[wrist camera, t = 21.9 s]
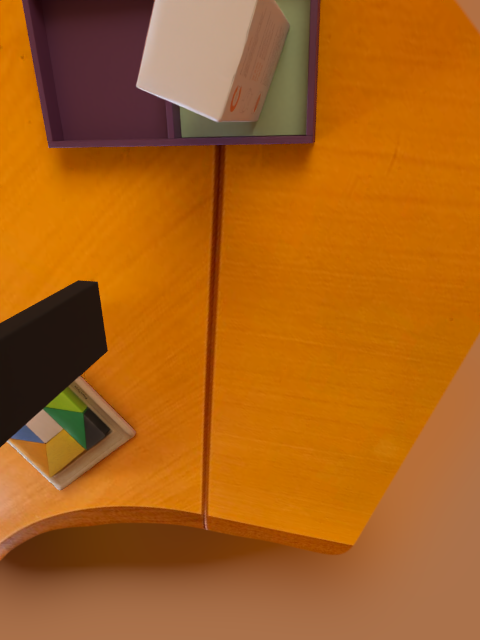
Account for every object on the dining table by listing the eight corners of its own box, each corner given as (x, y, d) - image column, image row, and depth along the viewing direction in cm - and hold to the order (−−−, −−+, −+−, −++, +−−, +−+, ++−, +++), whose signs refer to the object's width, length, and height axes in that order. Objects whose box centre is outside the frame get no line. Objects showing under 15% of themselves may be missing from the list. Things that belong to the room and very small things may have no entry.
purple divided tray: (37, -7, 41) (19, -15, 39) (321, -36, 36) (319, -47, 34) (63, 146, 47) (48, 147, 44) (314, 142, 41) (312, 143, 39)
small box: (222, -4, 38) (165, -61, 26) (292, 23, 37) (266, -22, 26) (194, 98, 41) (133, 87, 30) (257, 123, 41) (221, 124, 29)
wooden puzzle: (143, 427, 59) (131, 444, 56) (63, 484, 67) (49, 502, 64) (46, 331, 57) (29, 343, 53) (-25, 402, 64) (-44, 417, 61)
